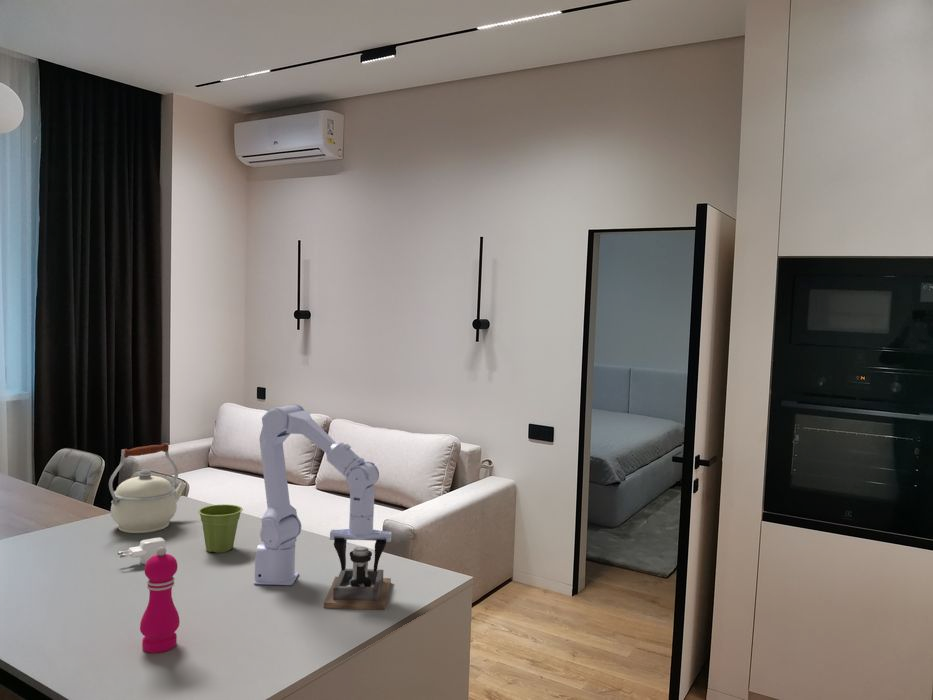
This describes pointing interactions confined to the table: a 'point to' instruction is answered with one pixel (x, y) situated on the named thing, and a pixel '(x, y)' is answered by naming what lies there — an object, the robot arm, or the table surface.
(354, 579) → the push button
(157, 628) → the pepper mill
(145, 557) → the power adapter
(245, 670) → the table surface
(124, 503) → the kettle
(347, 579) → the socket board
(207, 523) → the plant pot
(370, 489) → the robot arm
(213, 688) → the table surface
